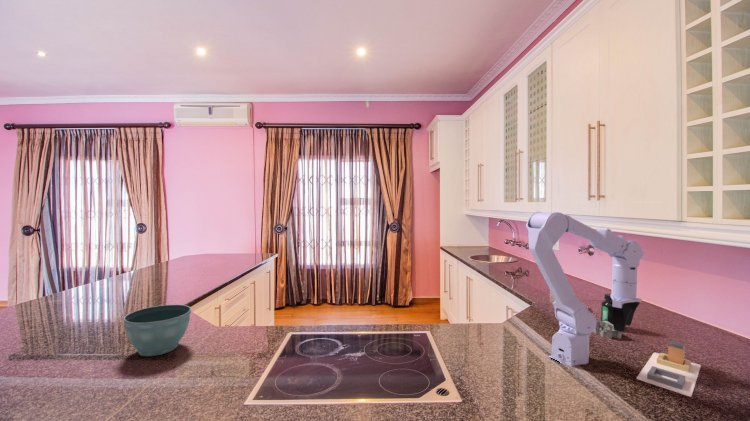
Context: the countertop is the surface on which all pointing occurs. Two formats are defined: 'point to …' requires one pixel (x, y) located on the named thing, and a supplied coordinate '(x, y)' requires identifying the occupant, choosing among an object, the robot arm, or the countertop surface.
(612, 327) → the egg carton
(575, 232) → the robot arm
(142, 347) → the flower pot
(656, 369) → the socket board
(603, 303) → the supplement bottle
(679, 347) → the peg
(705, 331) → the countertop surface
